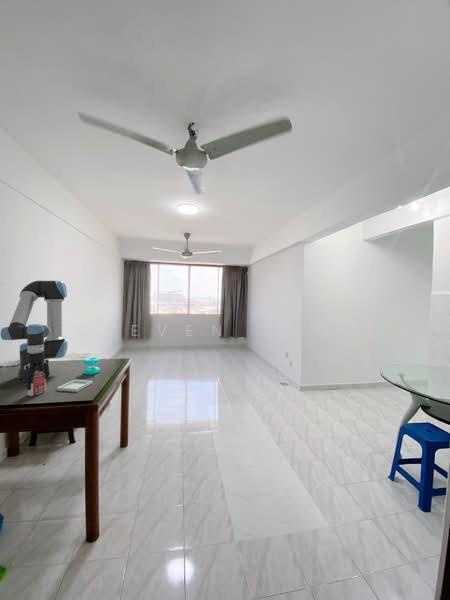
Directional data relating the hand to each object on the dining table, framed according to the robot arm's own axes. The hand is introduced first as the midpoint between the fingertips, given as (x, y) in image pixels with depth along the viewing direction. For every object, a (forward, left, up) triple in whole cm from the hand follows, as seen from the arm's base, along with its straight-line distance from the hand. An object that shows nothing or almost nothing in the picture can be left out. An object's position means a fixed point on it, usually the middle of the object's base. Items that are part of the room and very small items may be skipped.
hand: (37, 392), depth 140 cm
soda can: (0, 0, -1) cm, 1 cm away
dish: (+14, +12, -1) cm, 18 cm away
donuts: (+5, +37, -1) cm, 37 cm away
